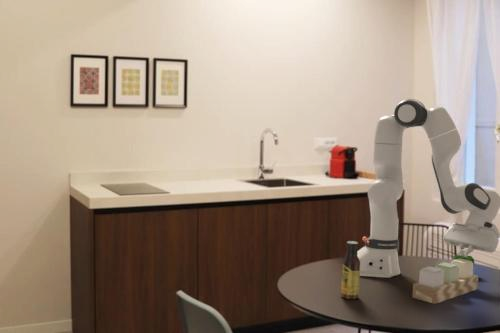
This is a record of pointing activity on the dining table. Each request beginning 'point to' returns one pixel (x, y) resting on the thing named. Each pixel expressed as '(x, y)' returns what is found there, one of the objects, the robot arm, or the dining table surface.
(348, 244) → the sauce bottle
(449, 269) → the sage key
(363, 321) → the dining table surface
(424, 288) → the keypad housing
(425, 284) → the grey key
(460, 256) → the bell pepper
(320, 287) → the dining table surface
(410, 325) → the dining table surface
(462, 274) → the cream key
